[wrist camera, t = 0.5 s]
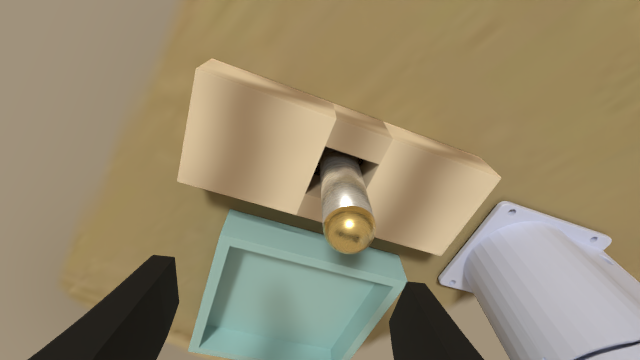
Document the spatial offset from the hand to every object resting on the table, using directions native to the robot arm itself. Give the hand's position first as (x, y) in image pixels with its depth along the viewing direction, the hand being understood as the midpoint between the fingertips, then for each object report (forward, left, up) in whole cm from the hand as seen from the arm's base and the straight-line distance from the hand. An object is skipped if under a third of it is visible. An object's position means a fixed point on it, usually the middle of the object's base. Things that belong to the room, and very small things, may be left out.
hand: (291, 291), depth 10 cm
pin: (-2, -1, -10) cm, 10 cm away
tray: (-3, +11, -10) cm, 15 cm away
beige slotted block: (-2, -1, -10) cm, 10 cm away
